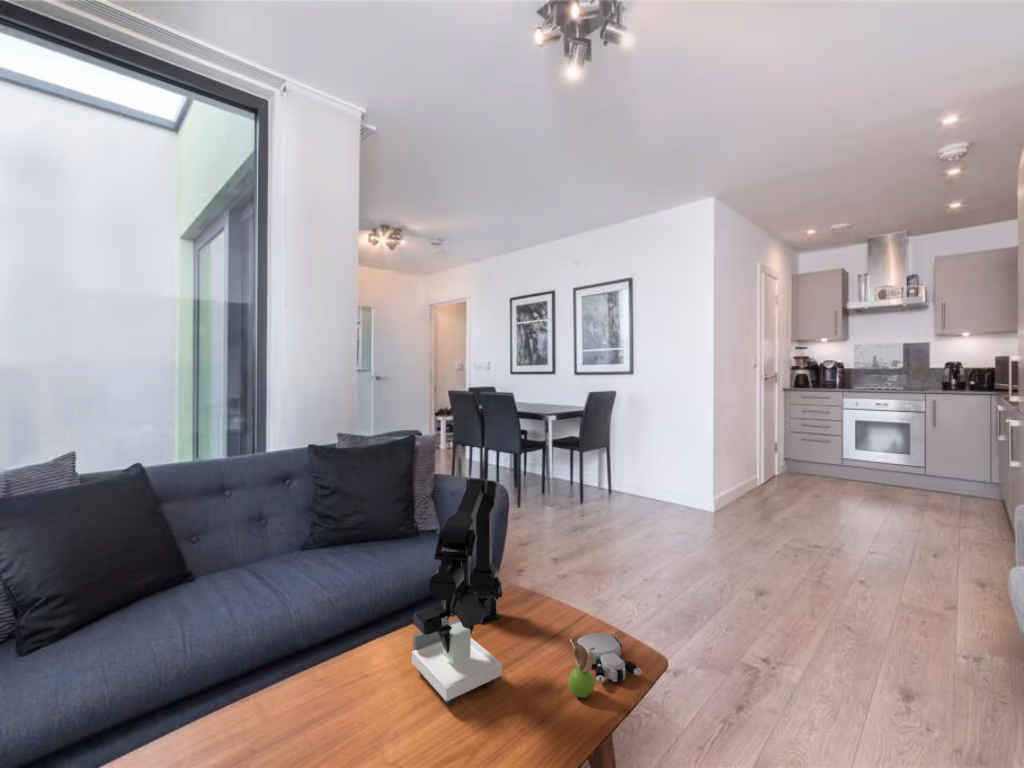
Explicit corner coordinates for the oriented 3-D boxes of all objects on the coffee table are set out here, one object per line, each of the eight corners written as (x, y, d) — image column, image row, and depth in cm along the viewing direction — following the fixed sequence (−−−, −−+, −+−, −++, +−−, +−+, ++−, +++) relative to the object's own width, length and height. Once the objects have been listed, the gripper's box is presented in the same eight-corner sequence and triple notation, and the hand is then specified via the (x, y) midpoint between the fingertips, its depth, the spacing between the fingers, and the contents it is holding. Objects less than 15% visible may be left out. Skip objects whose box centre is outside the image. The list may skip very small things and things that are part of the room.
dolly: (409, 670, 107) (409, 636, 107) (461, 649, 116) (461, 617, 116) (446, 713, 94) (446, 673, 93) (501, 686, 102) (502, 649, 102)
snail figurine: (581, 709, 95) (582, 651, 95) (563, 691, 101) (564, 636, 101) (602, 701, 98) (603, 645, 97) (584, 683, 103) (584, 630, 103)
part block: (442, 654, 104) (443, 627, 104) (459, 647, 107) (460, 621, 107) (452, 664, 101) (453, 636, 101) (470, 656, 104) (470, 630, 104)
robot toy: (645, 685, 104) (611, 644, 119) (646, 666, 104) (612, 627, 118) (596, 695, 101) (567, 652, 115) (597, 676, 100) (568, 634, 115)
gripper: (437, 605, 92) (436, 683, 92) (511, 581, 103) (510, 650, 103) (412, 585, 101) (412, 656, 101) (483, 565, 112) (483, 629, 112)
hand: (456, 648), depth 104 cm, fingers closed on part block, 4 cm apart
